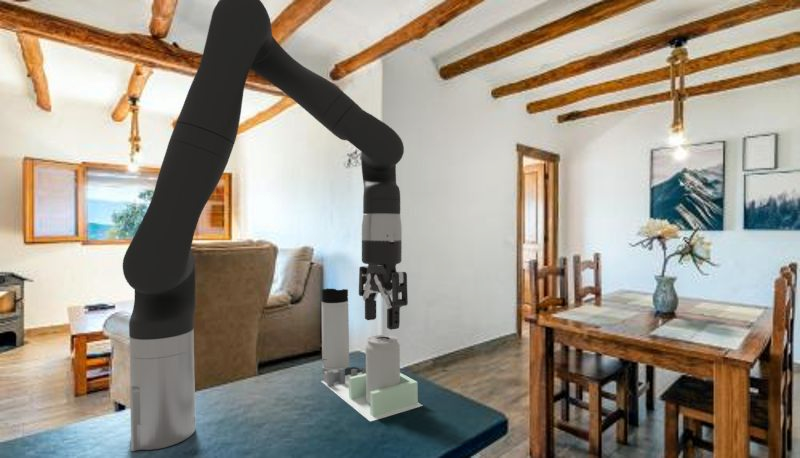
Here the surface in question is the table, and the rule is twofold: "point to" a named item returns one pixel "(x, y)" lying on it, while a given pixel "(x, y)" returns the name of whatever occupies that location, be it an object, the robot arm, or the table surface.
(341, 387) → the board
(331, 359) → the travel mug
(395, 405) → the end holder
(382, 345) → the beverage can
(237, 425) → the table surface
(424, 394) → the table surface
